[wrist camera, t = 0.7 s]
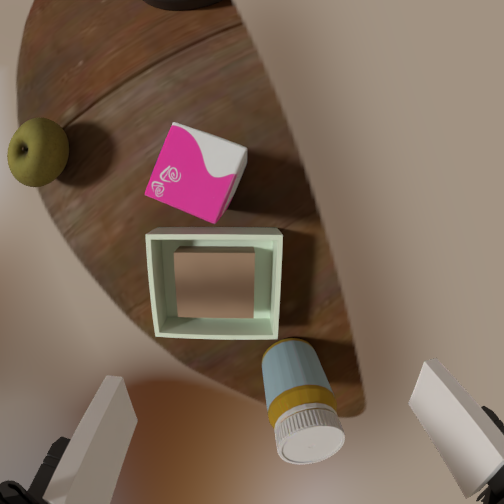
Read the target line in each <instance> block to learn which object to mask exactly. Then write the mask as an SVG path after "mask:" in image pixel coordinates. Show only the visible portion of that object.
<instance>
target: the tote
mask: <svg viewBox="0 0 504 504" xmlns="http://www.w3.org/2000/svg"><path fill="white" fill-rule="evenodd" d="M179 246H252V247H254V251H255V279H254V318H192V317H178V312H177V300H176V286H175V271H174V252H175V250H176V249H177V248H178V247H179ZM282 247H283V234H282V233H281V232H280V231H279V229H278V228H271V227H158V228H156V229H154V230H152V231H151V232H149V233H147V234H146V251H147V265H148V277H149V287H150V297H151V306H152V314H153V322H154V330H155V336H156V337H172V338H193V339H240V340H249V339H278V324H279V307H280V289H281V269H282Z"/></svg>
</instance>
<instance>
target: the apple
mask: <svg viewBox="0 0 504 504" xmlns="http://www.w3.org/2000/svg"><path fill="white" fill-rule="evenodd" d="M68 156H69V142H68V138H67V135H66V133H65V132H64V130H63V129H62V128H61V127H60V126H59V125H58V124H57V123H55V122H54V121H51V120H49V119H46V118H33V119H30V120H28V121H27V122H25V123H24V124H22V125H21V126H20V127H19V128H18V130H17V131H16V132H15V134H14V135H13V137H12V139H11V141H10V144H9V148H8V155H7V157H8V165H9V168H10V170H11V173H12V174H13V176H14V177H15V178H16V179H17V180H18V181H19V182H20V183H22V184H24V185H26V186H30V187H40V186H44V185H46V184H49V183H50V182H52V181H53V180H55V179H56V178H57V177H58V176H59V175H60V174H61V172H62V171H63V170H64V168H65V166H66V163H67V160H68Z"/></svg>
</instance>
